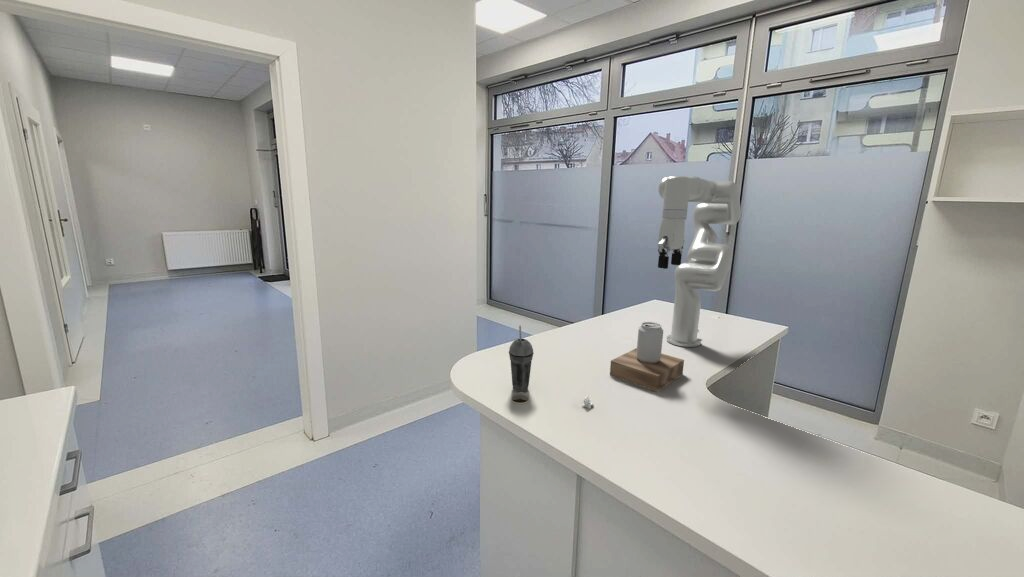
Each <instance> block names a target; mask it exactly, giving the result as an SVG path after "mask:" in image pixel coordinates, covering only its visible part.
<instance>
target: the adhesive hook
mask: <svg viewBox="0 0 1024 577" xmlns="http://www.w3.org/2000/svg"><path fill="white" fill-rule="evenodd" d="M591 401H592V400H591V397H589V395H587V396H586V395H585V398H584V399H583V404H582V407H583V408H589V409H592V407H593V408H594V407H595V404H594V403H592V402H591Z"/></svg>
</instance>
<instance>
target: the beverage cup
mask: <svg viewBox="0 0 1024 577" xmlns="http://www.w3.org/2000/svg"><path fill="white" fill-rule="evenodd" d="M518 328H519V329H518V331H519V338H517V339H515V340H513V341H512V342H511V343H510V345H509V348H508V350H509V351H508V354H509V355H508V356H509V360H510V368H511V369H510V371H511V384H512V385H511V386H512V390H513V392H516V393H519V392H521V393H522V392H523V393H526V392H527V391H528V390H529V386H530V378H531V369H532V360H533V358H534V349H533V345H532V344H531V342H530V341H529V340H528V339H526V338H522V325H518Z"/></svg>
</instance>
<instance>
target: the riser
mask: <svg viewBox="0 0 1024 577" xmlns="http://www.w3.org/2000/svg"><path fill="white" fill-rule="evenodd" d="M636 353H637V347H636V348H634V349H632V350H630V351H628V352H625V353H624V354H622V355H619V356H617V357H616V358H613V359H611V360H610V368H609V376H611V377H613V378H617V379H620V380H622V381H625V382H628V383H631V384H633V385H636V386H639V387H641V388H645V389H647V390H650V391H653V392H659V391H660V390H662V389H663V388H665V387H667V385H669V384H671V383H672V382H673V381H675V380H676V379H678V378H680V377H681V376H682V375H683V372H684V367H685V366H684V364H685V359H683V358H679V357H675V356H672V355H668V354H664V353H662V352H661V359H660V360H659V361H658V362H657V363H644V362H642V361H640V360H639V359H638V358H637V357H636Z"/></svg>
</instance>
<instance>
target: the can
mask: <svg viewBox="0 0 1024 577" xmlns="http://www.w3.org/2000/svg"><path fill="white" fill-rule="evenodd" d="M637 332H638V333H637V343H636V344H637V345H636V348H637V353H636V357H637V358H638V359H639V360H640V361H642V362H644V363H657V362H658V361H659V360H660V359H661V353H662V350H663V349H662V347H663V338H664V329H663V328H662V325H661V324H660V323H658V322H652V321H644V322H642V323H640V326H639V327H638V331H637Z"/></svg>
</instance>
